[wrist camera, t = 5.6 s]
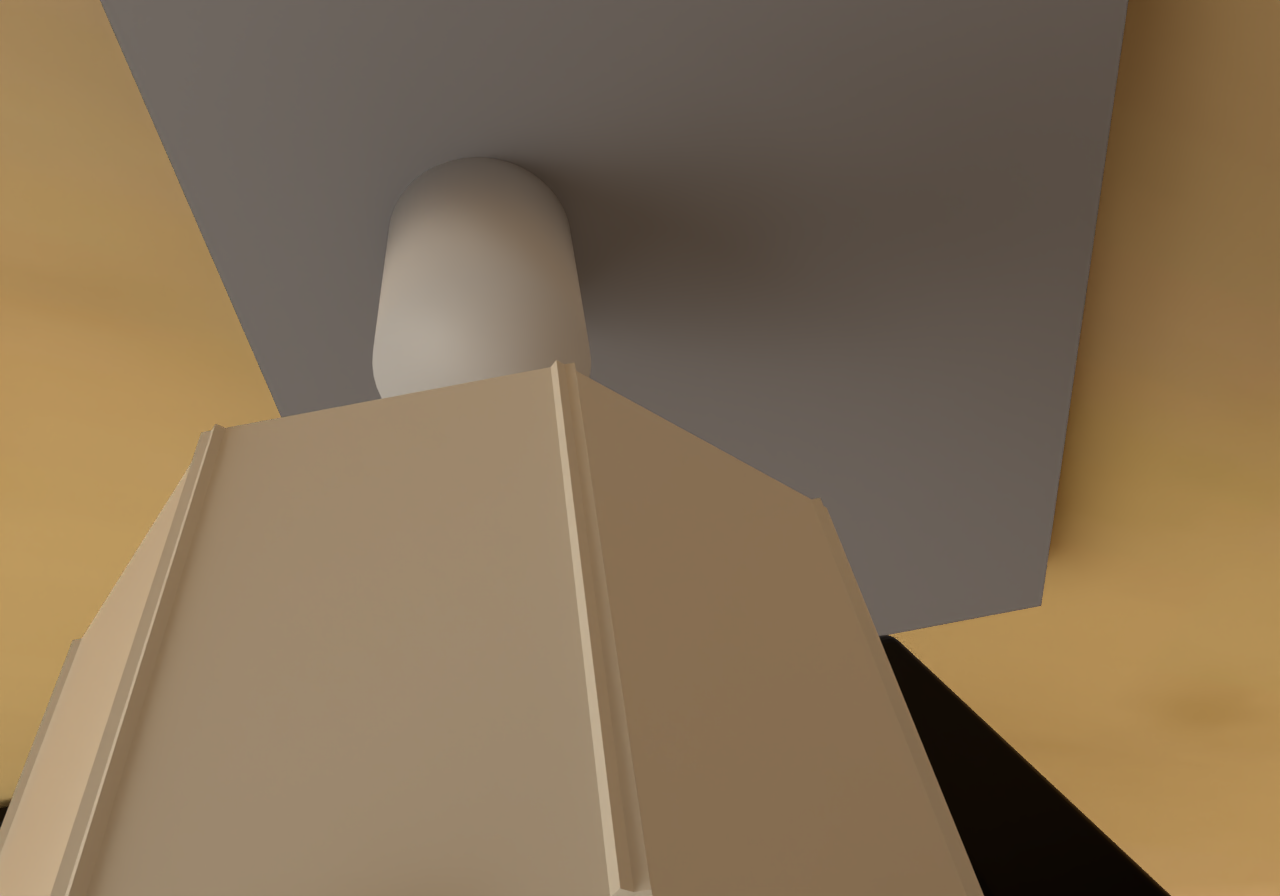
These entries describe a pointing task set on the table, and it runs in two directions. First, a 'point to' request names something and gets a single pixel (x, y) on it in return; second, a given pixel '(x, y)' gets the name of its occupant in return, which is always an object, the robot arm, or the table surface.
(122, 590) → the knob
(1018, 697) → the table surface
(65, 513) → the table surface
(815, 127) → the board
